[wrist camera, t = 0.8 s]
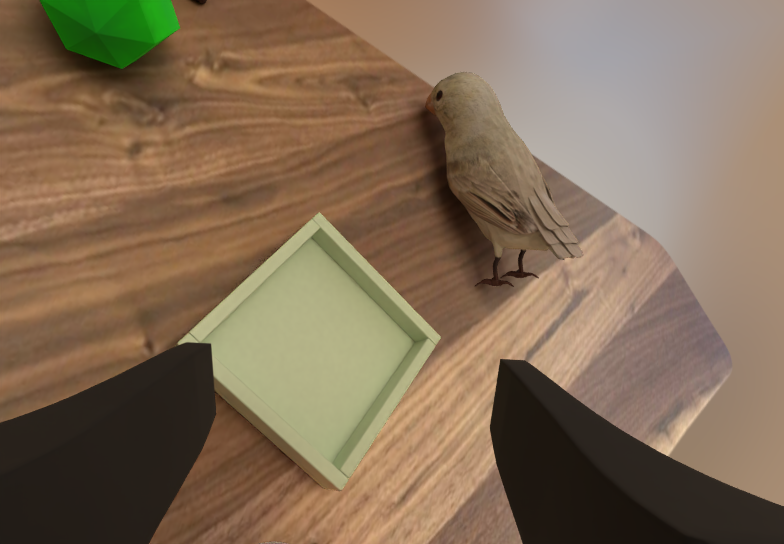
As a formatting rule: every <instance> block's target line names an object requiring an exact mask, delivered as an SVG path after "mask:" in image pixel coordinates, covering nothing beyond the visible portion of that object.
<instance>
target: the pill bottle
mask: <svg viewBox="0 0 784 544" xmlns="http://www.w3.org/2000/svg"><path fill="white" fill-rule="evenodd" d="M259 544H288V543H284V542H263V543H259Z"/></svg>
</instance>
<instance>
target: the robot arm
mask: <svg viewBox="0 0 784 544" xmlns="http://www.w3.org/2000/svg"><path fill="white" fill-rule="evenodd" d="M215 416H216V404H215V390H214V376H213V361H212V347H211V343H194V342H186V343H183V344H180V345H178V346H175V347H173V348H171V349H169V350H167V351H165V352H163V353H161V354H159V355H157V356H155V357H153V358H151V359H149V360H147V361H145V362H143V363H141V364H139V365H137V366H135V367H133V368H131V369H129V370H127V371H125V372H123V373H121V374H119V375H117V376H115V377H113V378H110V379H108V380H106V381H104V382H102V383H100V384H97V385H95V386H93V387H91V388H89V389H87V390H84V391H82V392H80V393H78V394H76V395H73V396H71V397H69V398H66V399H64V400H62V401H59V402H57V403H54V404H52V405H49V406H46V407H44V408H41V409H38V410H36V411H33V412H30V413H28V414H25V415H22V416H19V417H17V418H14V419H11V420H8V421H5V422H1V423H0V544H149V542H150V540H151V538H152V537H153V535H154V533H155V531H156V529H157V527H158V526H159V524H160V522H161V520H162V519H163V517H164V515H165V514H166V512H167V510H168V508H169V507H170V505H171V503H172V501H173V500H174V498H175V496H176V494H177V493H178V491H179V489H180V488H181V486H182V484H183V482H184V481H185V479H186V477H187V475H188V474H189V472H190V470H191V468H192V467H193V465H194V463H195V461H196V459H197V458H198V456H199V454H200V452H201V450H202V448H203V446H204V443H205V441H206V439H207V436H208V434H209V431H210V429H211V426H212V423H213V421H214V418H215ZM490 432H491V437H492V443H493V449H494V454H495V459H496V464H497V467H498V470H499V473H500V476H501V479H502V482H503V486H504V489H505V492H506V495H507V498H508V501H509V504H510V507H511V510H512V513H513V516H514V519H515V522H516V525H517V528H518V531H519V534H520V537H521V540H522V543H523V544H784V506H781V505H778V504H775V503H773V502H770V501H768V500H765V499H762V498H760V497H757V496H755V495H752V494H750V493H747V492H745V491H742V490H739V489H737V488H735V487H732V486H730V485H728V484H725V483H723V482H721V481H718V480H716V479H714V478H711V477H709V476H707V475H705V474H703V473H701V472H699V471H696V470H694V469H692V468H690V467H688V466H686V465H684V464H682V463H680V462H678V461H676V460H673V459H672V458H670V457H668V456H666V455H664V454H662V453H660V452H658V451H657V450H655V449H653V448H651V447H650V446H648V445H646V444H644V443H643V442H641V441H639V440H637V439H636V438H634V437H632V436H630V435H629V434H627V433H625V432H624V431H622V430H621V429H619V428H617V427H616V426H614V425H613V424H611V423H610V422H608V421H607V420H605V419H604V418H602V417H601V416H599V415H598V414H596V413H595V412H594V411H592V410H591V409H589V408H588V407H587V406H585V405H584V404H582V403H581V402H580V401H578V400H577V399H576V398H574V397H573V396H572V395H570V394H569V393H568V392H566V391H565V390H564V389H562V388H561V387H560V386H559V385H557V384H556V383H555V382H553V381H552V380H551V379H550V378H548V377H547V376H546V375H544V374H543V373H542V372H540V371H539V370H538V369H537V368H535V367H534V366H532V365H531V364H530V363H528V362H526V361H525V360H508V359H500V365H499V371H498V378H497V384H496V391H495V397H494V404H493V410H492V417H491V424H490Z"/></svg>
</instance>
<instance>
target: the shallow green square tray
mask: <svg viewBox="0 0 784 544" xmlns="http://www.w3.org/2000/svg"><path fill="white" fill-rule="evenodd" d="M440 338H441V337H440V336H439V335H438V334H437V333H436V332H435V331H434V329H433V328H432V327H431V326H430V325H429V324H428V323H427V322H426V321H425V320H424V319H423V318H422V317H421V316H420V315H419V314H418V313H417V312H416V311H415V310H414V309H413V308H412V307H411V306H410V305H409V304H408V303H407V302H406V301H405V300H404V299H403V298H402V297H401V296H400V295H399V293H398V292H397V291H396V290H395V289H394V288H393V287H392V286H391V285H390V284H389V283H388V282H387V281H386V280H385V279H384V278H383V277H382V276H381V275H380V274H379V273H378V272H377V271H376V270H375V269H374V268H373V267H372V266H371V265H370V264H369V263H368V262H367V261H366V260H365V259H364V258H363V256H362V255H361V254H360V253H359V252H358V251H357V250H356V249H355V248H354V247H353V246H352V245H351V244H350V243H349V242H348V241H347V240H346V239H345V238H344V237H343V236H342V235H341V234H340V233H339V232H338V231H337V230H336V229H335V228H334V227H333V226H332V225H331V224H330V223H329V222H328V220H327V219H326V218H325V217H324V216H323V215H322V214H321V213H317V214H316V215H315V216H314V217H313V218H312V219H311V220H310V221H309V222H308V223H306V224H305V225H304V226H303V227H302V228H301V229H300V230H299V231H298V232H297V233H296V234H295V235H293V236H292V237H291V238H290V239H289V240H288V241H287V242H286V243H285V244H284V245H283V246H282V247H280V248H279V249H278V250H277V251H276V252H275V253H274V254H273V255H272V256H271V257H270V258H269V259H267V260H266V261H265V262H264V263H263V264H262V265H261V266H260V267H259V268H258V269H257V270H256V271H254V272H253V273H252V274H251V275H250V276H249V277H248V278H247V279H246V280H245V281H244V282H243V283H241V284H240V285H239V286H238V287H237V288H236V289H235V290H234V291H233V292H232V293H231V294H230V295H228V296H227V297H226V298H225V299H224V300H223V301H222V302H221V303H220V304H219V305H218V306H217V307H215V308H214V309H213V310H212V311H211V312H210V313H209V314H208V315H207V316H206V317H205V318H204V319H202V320H201V321H200V322H199V323H198V324H197V325H196V326H195V327H194V328H193V329H192V330H191V331H189V333H188V334H186V335H185V336H184V337H183V338H182V339H181V340H180V341H179V342H178V343H177V344H176V345H175V346H178V345H180V344H183V343H186V342H194V343H211V347H212V361H213V376H214V390H215V391H216V392H217V393H218V394H219V395H220V396H221V397H222V398H223V399H224V400H226V401H227V402H228V403H229V404H230V405H231V406H232V407H233V408H235V409H236V410H237V411H238V412H239V413H240V414H241V415H242V416H243V417H245V418H246V419H247V420H248V421H249V422H250V423H251V424H252V425H254V426H255V427H256V428H257V429H258V430H259V431H260V432H261V433H262V434H264V435H265V436H266V437H267V438H268V439H269V440H270V441H271V442H272V443H274V444H275V445H276V446H277V447H278V448H279V449H280V450H281V451H283V452H284V453H285V454H286V455H287V456H288V457H289V458H290V459H291V460H293V461H294V462H295V463H296V464H297V465H298V466H299V467H300V468H301V469H303V470H304V471H305V472H306V473H307V474H308V475H309V476H310V477H312V478H313V479H314V480H315V481H316V482H317V483H318V484H319V485H320V486H322V487H323V488H324V489H330V490H336V491H342V489H343V488H344V486H345V485H346V483H347V482H348V480H349V479H348V478H350V477H351V476H352V474H353V472H354V471H355V469H356V468H357V466H358V465H359V463H360V462H361V460H362V459H363V457H364V455H365V454H366V452H367V451H368V449H369V448H370V446H371V445H372V443H373V442H374V440H375V439H376V437H377V435H378V434H379V432H380V431H381V429H382V428H383V426H384V425H385V423H386V422H387V420H388V418H389V417H390V415H391V414H392V412H393V411H394V409H395V408H396V406H397V405H398V403H399V402H400V400H401V398H402V397H403V395H404V394H405V392H406V391H407V389H408V388H409V386H410V385H411V383H412V381H413V380H414V378H415V377H416V375H417V374H418V372H419V371H420V369H421V368H422V366H423V364H424V363H425V361H426V360H427V358H428V357H429V355H430V354H431V352H432V351H433V349H434V348H435V345H436V344H437V343H438V341H439V340H440Z"/></svg>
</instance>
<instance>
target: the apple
mask: <svg viewBox="0 0 784 544" xmlns="http://www.w3.org/2000/svg"><path fill="white" fill-rule="evenodd" d="M40 2H41V4H42V6H43V8H44V10H45V11H46V13H47V15H48V17H49V19H50V21H51V22H52V24H53V26H54V28H55V30H56V31H57V33H58V35H59V37H60V39H61V41H62V42H63V44H64V46H65V48H66V49H67V50H70V51H73V52H76V53H78V54H81V55H84V56H87V57H90V58H92V59H95V60H98V61H101V62H104V63H106V64H109V65H112V66H115V67H118V68H120V69H123V68H124V67H126V66H128V65H130V64H131V63H133V62H135V61H136V60H138V59H139V58H140V57H142V56H143V55H145V54H146V53H147V52H149V51H150V50H151V49H153V48H154V47H155V46H157V45H158V44H159V43H161V42H162V41H163V40H165V39H166V38H167V37H169V36H170V35H171V34H173V33H174V32H175V31H177V30H178V29H180V26H179V23H178V20H177V17H176V14H175V11H174V8H173V5H172V2H171V0H40Z"/></svg>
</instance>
